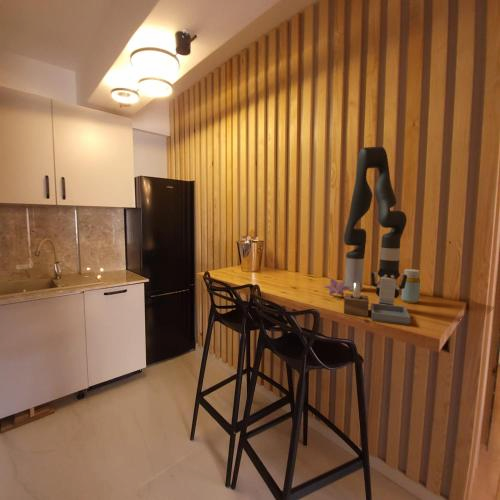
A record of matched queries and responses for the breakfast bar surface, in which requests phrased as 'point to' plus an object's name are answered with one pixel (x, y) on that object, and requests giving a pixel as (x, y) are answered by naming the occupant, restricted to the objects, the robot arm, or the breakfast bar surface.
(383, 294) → the supplement box
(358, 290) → the pin gauge
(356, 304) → the bore block
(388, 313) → the tray
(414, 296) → the bottle
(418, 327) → the breakfast bar surface
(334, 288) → the lily
